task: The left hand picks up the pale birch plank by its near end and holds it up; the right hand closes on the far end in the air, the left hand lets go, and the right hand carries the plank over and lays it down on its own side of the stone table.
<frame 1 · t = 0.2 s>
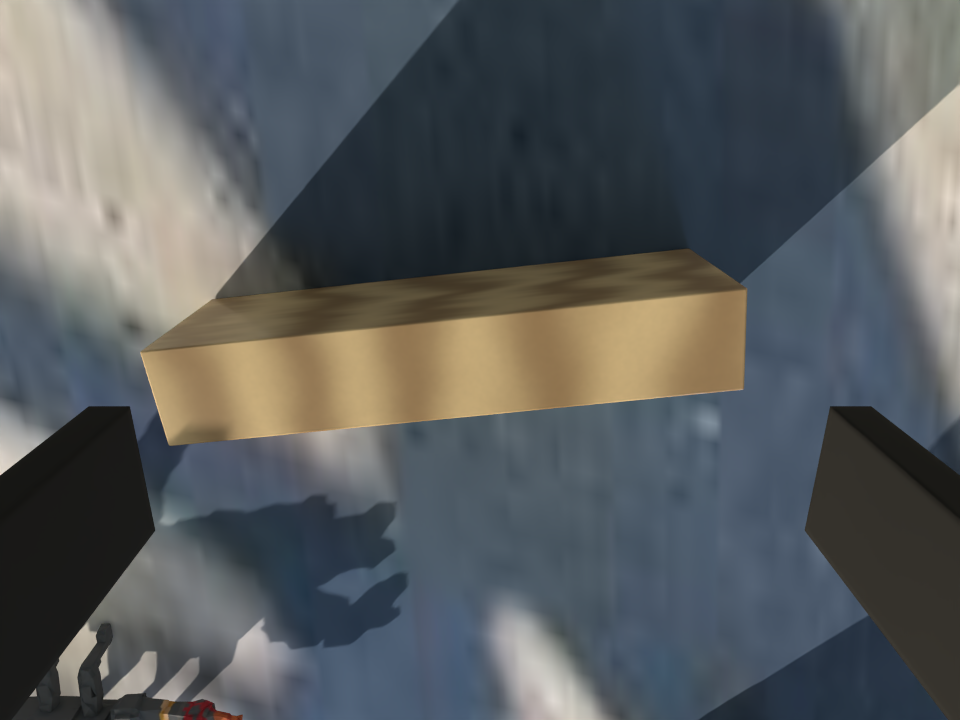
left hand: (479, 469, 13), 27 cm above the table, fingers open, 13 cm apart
plank: (452, 314, 40), on the table
toy: (101, 697, 51), on the table
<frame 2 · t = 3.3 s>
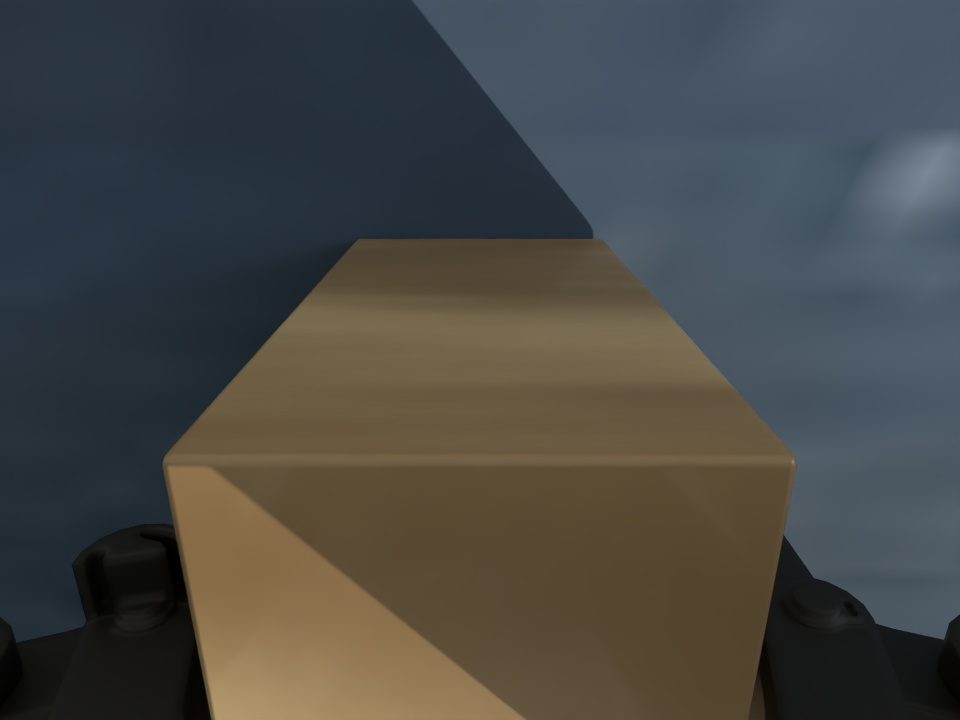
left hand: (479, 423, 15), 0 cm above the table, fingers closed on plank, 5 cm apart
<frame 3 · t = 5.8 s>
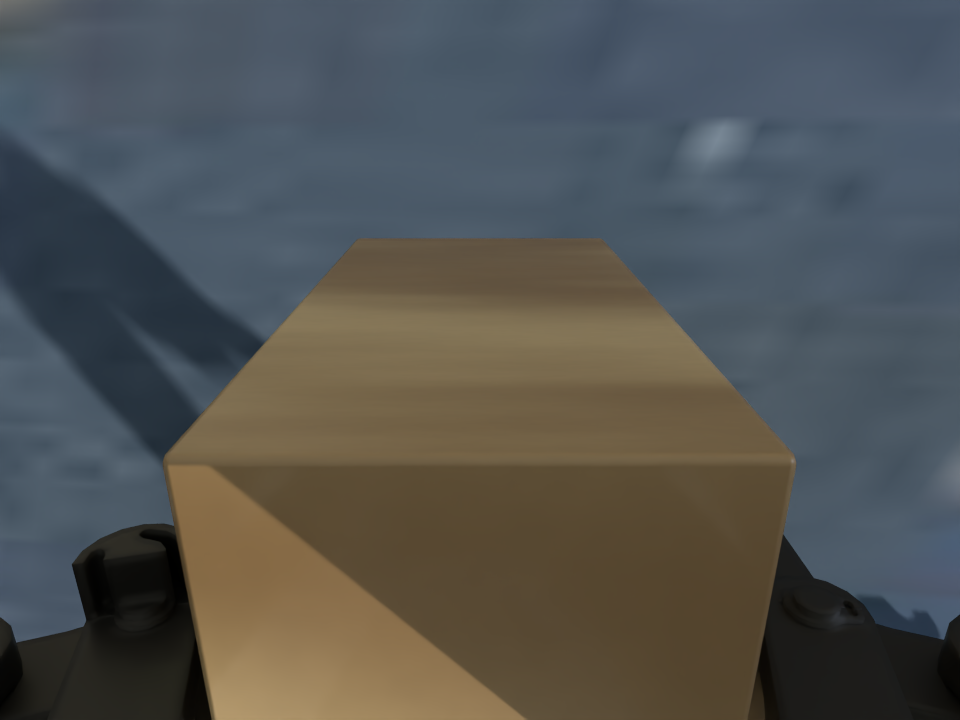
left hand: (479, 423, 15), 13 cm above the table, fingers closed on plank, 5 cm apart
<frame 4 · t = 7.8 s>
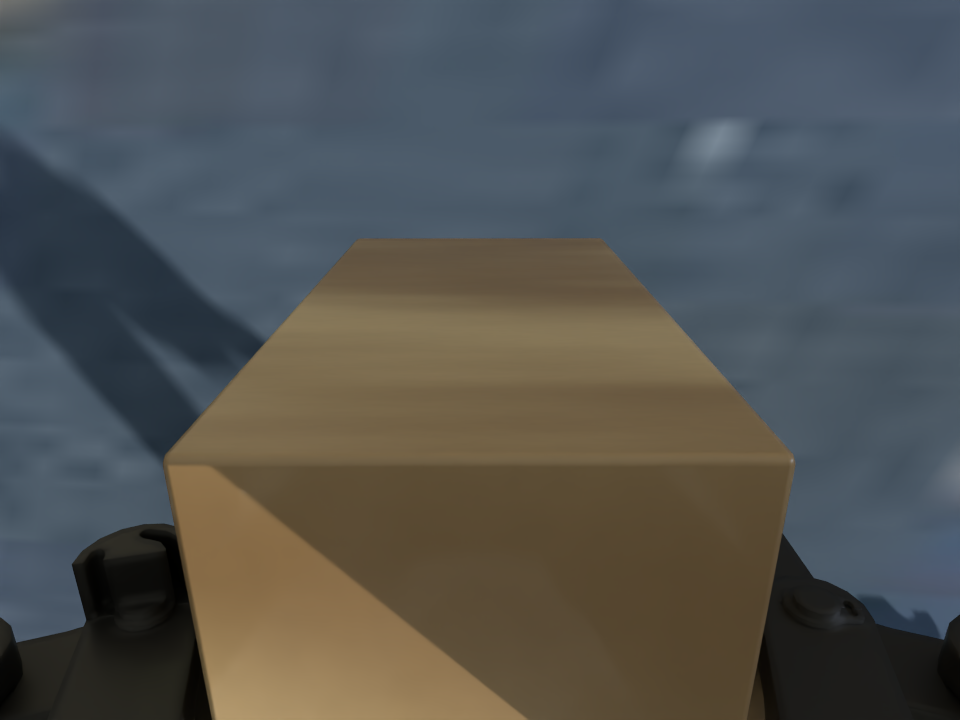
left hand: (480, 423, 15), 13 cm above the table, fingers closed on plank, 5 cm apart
when the left hand's fingers open (13 cm above the table, at t = 8.7 s): plank stays where it is, held by the right hand.
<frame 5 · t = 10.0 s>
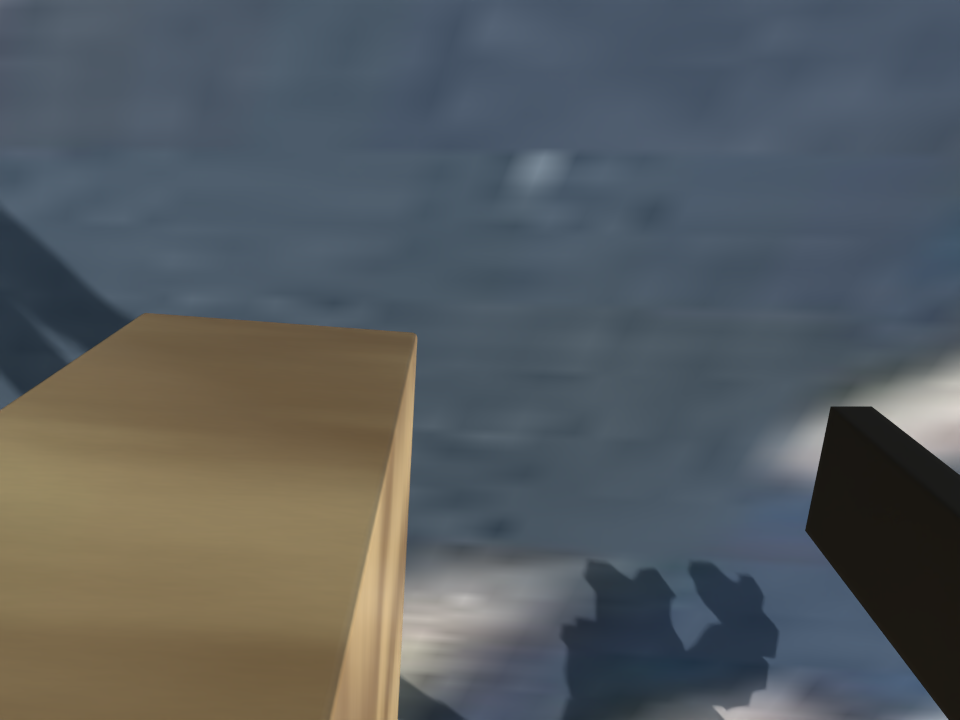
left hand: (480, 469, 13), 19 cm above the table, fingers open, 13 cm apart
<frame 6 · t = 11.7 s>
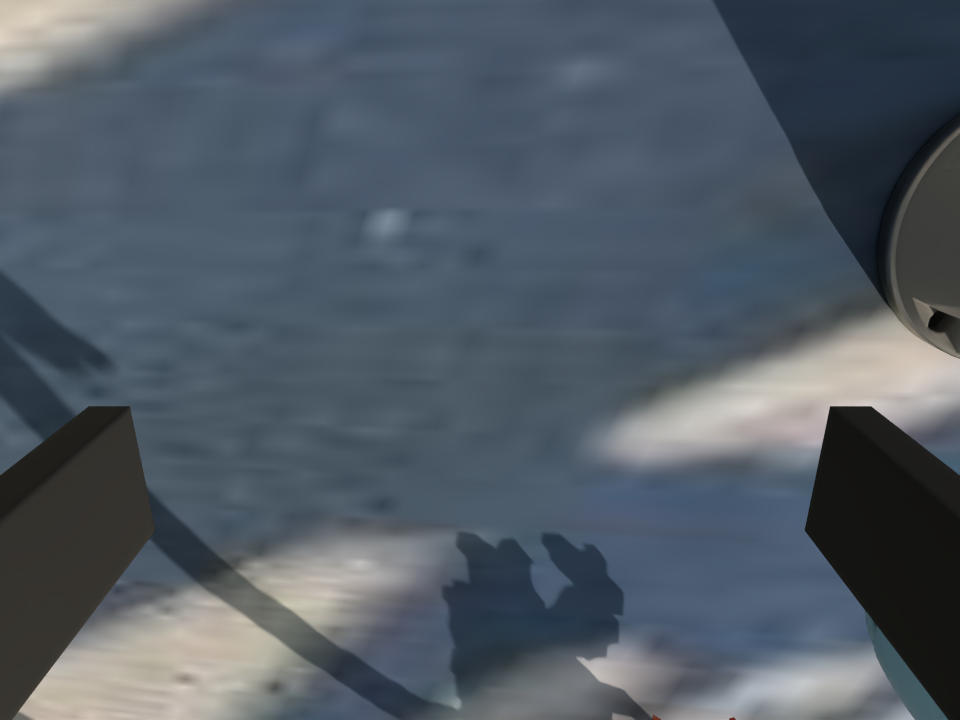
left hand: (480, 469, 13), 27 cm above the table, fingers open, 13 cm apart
when the right hand's fingers open (5 cm above the table, at t = 16.1 s): plank stays where it is, on the table.
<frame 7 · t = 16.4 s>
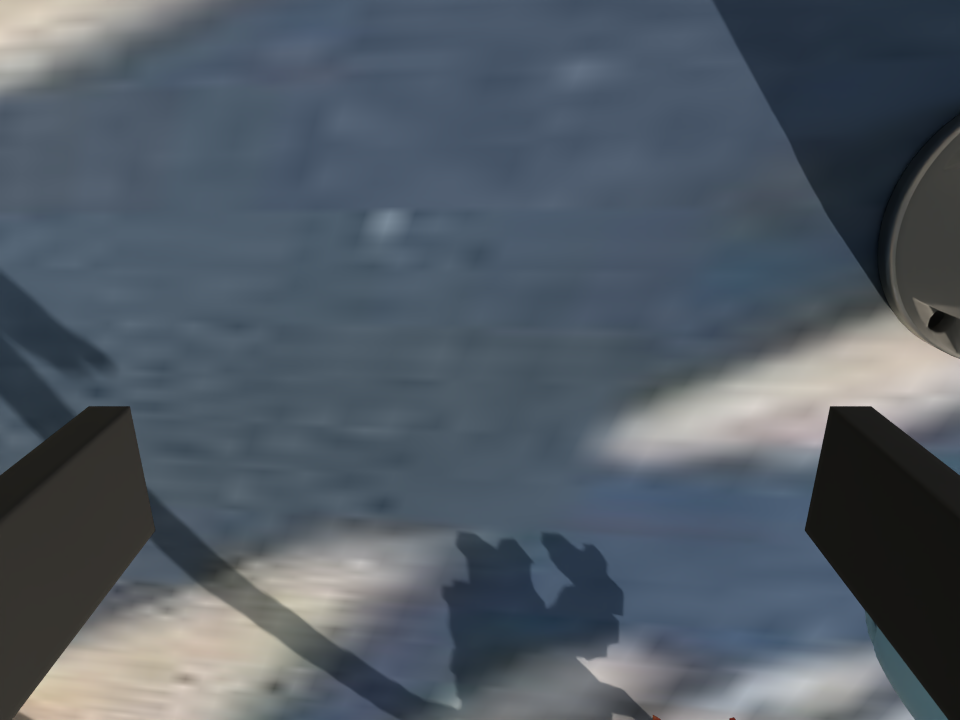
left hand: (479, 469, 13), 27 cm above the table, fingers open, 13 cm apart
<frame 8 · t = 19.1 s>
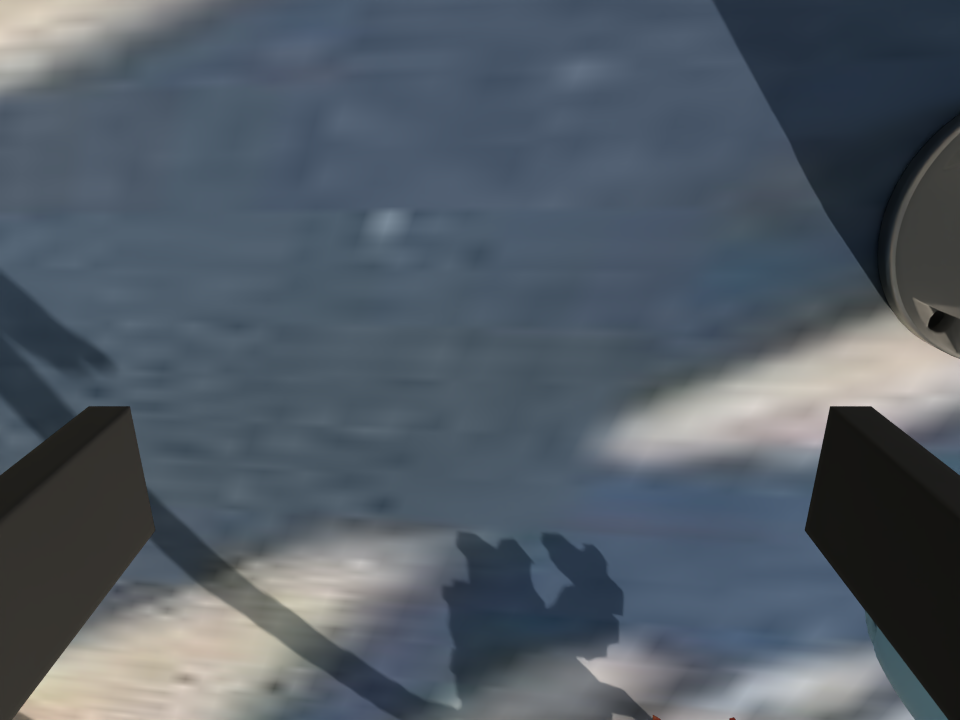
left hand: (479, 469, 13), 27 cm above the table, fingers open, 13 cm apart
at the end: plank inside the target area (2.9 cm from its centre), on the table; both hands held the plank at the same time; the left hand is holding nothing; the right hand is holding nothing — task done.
